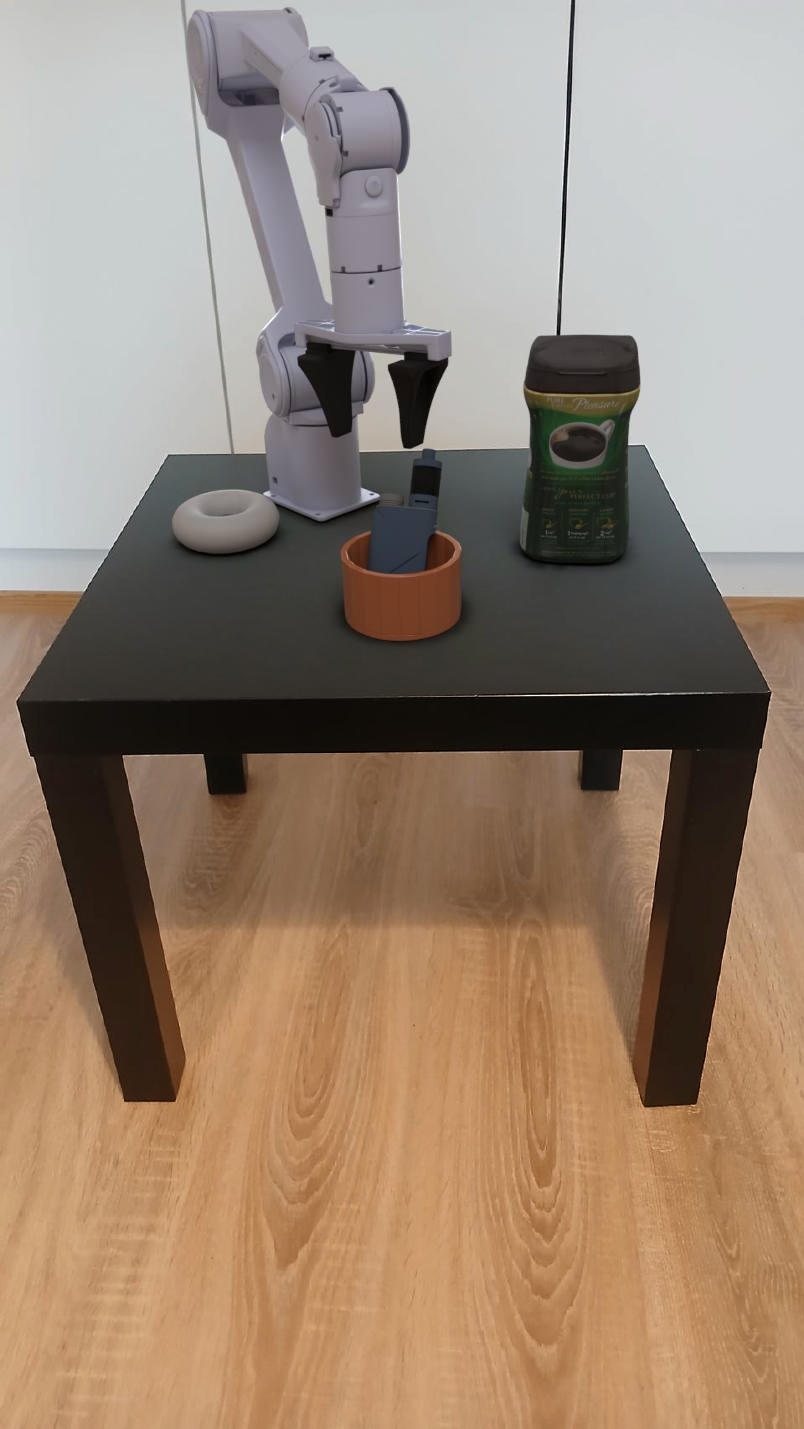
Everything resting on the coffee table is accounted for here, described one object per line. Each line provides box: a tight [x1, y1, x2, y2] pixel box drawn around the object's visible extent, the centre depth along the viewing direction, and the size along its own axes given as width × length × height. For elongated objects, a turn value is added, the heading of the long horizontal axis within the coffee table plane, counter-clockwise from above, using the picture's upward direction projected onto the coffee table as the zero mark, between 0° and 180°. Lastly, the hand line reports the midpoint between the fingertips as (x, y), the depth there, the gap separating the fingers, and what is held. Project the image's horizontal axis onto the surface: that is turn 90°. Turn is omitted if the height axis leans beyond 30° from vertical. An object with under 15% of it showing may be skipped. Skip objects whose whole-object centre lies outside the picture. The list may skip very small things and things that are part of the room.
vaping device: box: [367, 447, 443, 574], centre depth 85 cm, size 3×5×12 cm
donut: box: [171, 489, 281, 555], centre depth 98 cm, size 10×4×10 cm
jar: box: [340, 530, 463, 642], centre depth 84 cm, size 9×9×6 cm
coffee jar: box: [519, 334, 642, 564], centre depth 90 cm, size 10×8×19 cm
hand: (376, 440), depth 90 cm, fingers open, 7 cm apart
